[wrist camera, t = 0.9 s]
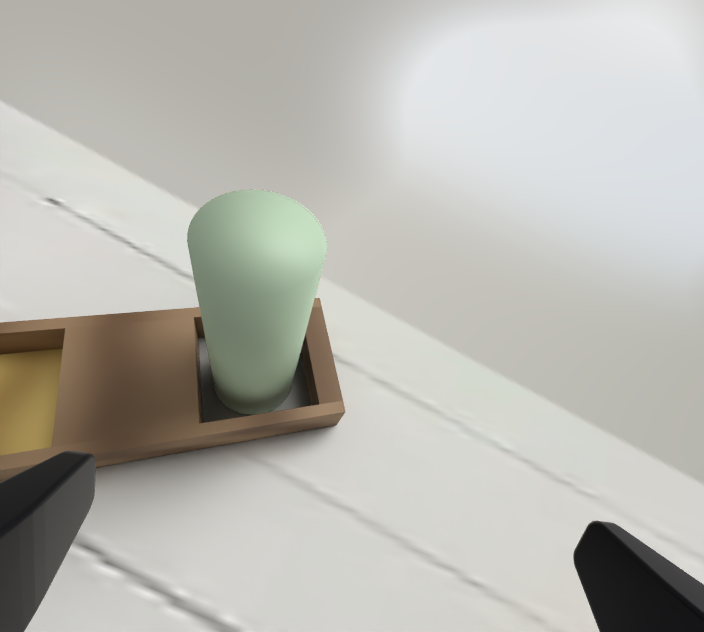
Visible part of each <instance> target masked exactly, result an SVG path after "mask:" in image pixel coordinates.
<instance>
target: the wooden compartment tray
mask: <svg viewBox="0 0 704 632" xmlns="http://www.w3.org/2000/svg"><path fill="white" fill-rule="evenodd" d="M202 337H205V333H204V328H203V323H202V317H201V312H200V307H197V308H184V309H171V310H158V311H145V312H132V313H119V314H106V315H93V316H80V317H67V318H54V319H42V320H29V321H16V322H3V323H0V482H2V481H4V480H6V479H8V478H10V477H12V476H14V475H16V474H18V473H20V472H22V471H24V470H26V469H28V468H31V467H33V466H35V465H37V464H39V463H41V462H43V461H45V460H47V459H49V458H51V457H53V456H55V455H57V454H59V453H61V452H64V451H70V450H71V451H79V452H86V453H91V454H93V455H94V457H95V462H96V463H95V468H97V467H102V466H108V465H113V464H119V463H125V462H130V461H136V460H141V459H147V458H153V457H158V456H164V455H169V454H175V453H181V452H186V451H192V450H198V449H203V448H209V447H214V446H220V445H226V444H231V443H237V442H242V441H248V440H254V439H259V438H265V437H271V436H276V435H282V434H287V433H293V432H299V431H304V430H310V429H315V428H321V427H327V426H332V425H337V423H338V422H339V421H340V419H341V418H342V416H343V415H344V413H345V408H344V403H343V399H342V395H341V390H340V386H339V381H338V377H337V373H336V368H335V364H334V359H333V355H332V351H331V346H330V342H329V337H328V333H327V328H326V324H325V320H324V315H323V311H322V306H321V302H320V298H315V299H314V303H313V306H312V310H311V314H310V318H309V322H308V325H307V329H306V333H305V337H304V341H303V345H302V348H301V356H302V361H303V367H304V372H305V377H306V383H307V388H308V393H309V399H310V404H311V406H306V407H300V408H294V409H288V410H281V411H275V412H269V413H263V414H256V415H250V416H244V417H238V418H231V419H225V420H219V421H213V422H206V423H203V413H202V396H201V378H200V361H199V343H198V338H202Z"/></svg>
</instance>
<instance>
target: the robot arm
mask: <svg viewBox="0 0 704 632" xmlns="http://www.w3.org/2000/svg"><path fill="white" fill-rule="evenodd" d="M95 463H96V462H95V457H94V455H93V454H91V453H86V452H79V451H71V450H70V451H64V452H61V453H59V454H57V455H55V456H53V457H51V458H49V459H47V460H45V461H43V462H41V463H39V464H37V465H35V466H33V467H31V468H28V469H26V470H24V471H22V472H20V473H18V474H16V475H14V476H12V477H10V478H8V479H6V480H4V481H2V482H0V632H24V631H25V629H26V627H27V626H28V624H29V622H30V621H31V619H32V618H33V616H34V614H35V613H36V611H37V609H38V607H39V605H40V604H41V602H42V600H43V598H44V596H45V594H46V592H47V591H48V589H49V587H50V585H51V583H52V581H53V579H54V577H55V575H56V573H57V571H58V569H59V567H60V565H61V564H62V562H63V560H64V558H65V556H66V554H67V552H68V550H69V548H70V546H71V544H72V542H73V540H74V539H75V537H76V535H77V533H78V531H79V529H80V527H81V525H82V523H83V521H84V519H85V517H86V515H87V514H88V512H89V510H90V507H91V505H92V502H93V499H94V492H95ZM573 556H574V565H575V568H576V570H577V573H578V576H579V578H580V581H581V584H582V586H583V589H584V592H585V594H586V597H587V599H588V602H589V605H590V607H591V610H592V613H593V615H594V618H595V620H596V623H597V626H598V628H599V631H600V632H704V585H703V584H702V583H700V582H699V581H697V580H696V579H695V578H693V577H692V576H690V575H689V574H687V573H686V572H684V571H683V570H682V569H680V568H679V567H677V566H676V565H674V564H673V563H671V562H670V561H669V560H667V559H666V558H664V557H663V556H661V555H660V554H658V553H657V552H656V551H654V550H653V549H651V548H650V547H648V546H647V545H645V544H644V543H643V542H641V541H640V540H638V539H637V538H635V537H634V536H633V535H631V534H630V533H628V532H627V531H625V530H624V529H622V528H621V527H620V526H618V525H616V524H614V523H610V522H602V521H592V522H591V523H590V524H589V525H588V526H587V528H586V530H585V532H584V534H583V535H582V537H581V539H580V541H579V543H578V545H577V547H576V548H575V551H574V555H573Z"/></svg>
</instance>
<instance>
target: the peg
mask: <svg viewBox="0 0 704 632" xmlns="http://www.w3.org/2000/svg"><path fill="white" fill-rule="evenodd" d="M187 242H188V248H189V253H190V259H191V264H192V269H193V275H194V280H195V285H196V291H197V296H198V301H199V307H200V312H201V317H202V323H203V328H204V333H205V339H206V344H207V350H208V355H209V360H210V366H211V371H212V376H213V382H214V387H215V390H216V393H217V395H218V397H219V399H220V400H221V401H222V402H223V403H224V405H226V406H227V407H228V408H230V409H231V410H233V411H235V412H238V413H241V414H246V415H256V414H263V413H266V412H269V411H271V410H273V409H275V408H276V407H278V406H279V405H280V404H281V403H282V402H283V401H284V400H285V399H286V397H287V396H288V394H289V392H290V390H291V386H292V383H293V379H294V375H295V371H296V367H297V364H298V360H299V356H300V352H301V348H302V345H303V341H304V337H305V333H306V329H307V325H308V322H309V318H310V314H311V310H312V306H313V303H314V299H315V295H316V291H317V287H318V284H319V280H320V276H321V272H322V268H323V264H324V261H325V257H326V251H327V241H326V236H325V233H324V230H323V228H322V226H321V224H320V222H319V221H318V220H317V219H316V217H315V216H314V215H313V214H312V213H311V212H310V211H309V210H308V209H307V208H306V207H305V206H303V205H302V204H300V203H299V202H297V201H295V200H293V199H291V198H289V197H286V196H284V195H281V194H278V193H274V192H270V191H263V190H240V191H234V192H230V193H226V194H224V195H221V196H218V197H216V198H214V199H212V200H211V201H209V202H208V203H206V204H205V205H204V206H203V207H201V208H200V209H199V211H198V212H197V213H196V214H195V216H194V217H193V219H192V220H191V223H190V225H189V229H188V234H187Z"/></svg>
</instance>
